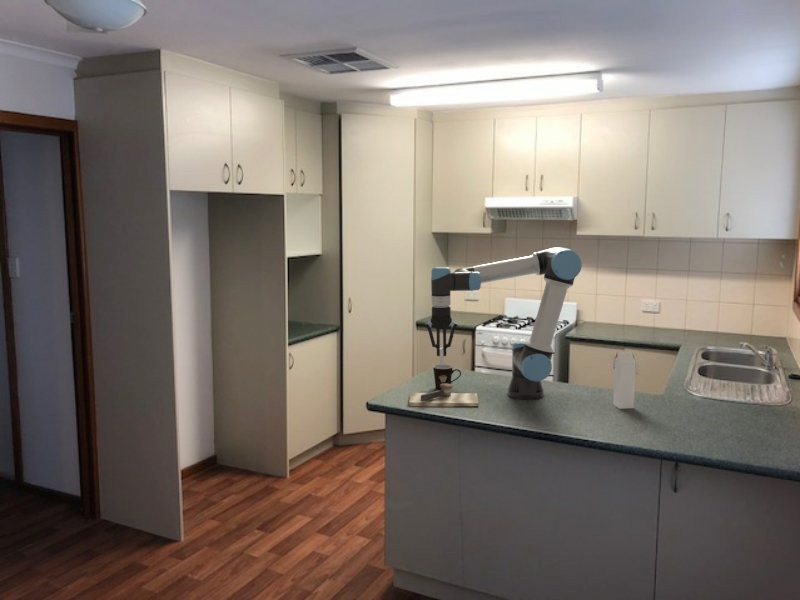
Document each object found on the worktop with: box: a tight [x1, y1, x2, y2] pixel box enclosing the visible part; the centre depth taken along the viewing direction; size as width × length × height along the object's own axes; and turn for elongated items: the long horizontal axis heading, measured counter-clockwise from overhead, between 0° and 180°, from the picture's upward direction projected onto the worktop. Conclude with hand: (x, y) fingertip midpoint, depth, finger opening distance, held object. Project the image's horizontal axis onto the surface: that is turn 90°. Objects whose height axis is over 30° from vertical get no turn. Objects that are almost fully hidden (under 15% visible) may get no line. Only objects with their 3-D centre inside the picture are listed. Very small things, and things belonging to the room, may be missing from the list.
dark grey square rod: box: [421, 383, 453, 402], centre depth 269 cm, size 5×17×4 cm, turn 131°
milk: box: [612, 352, 637, 410], centre depth 260 cm, size 6×6×22 cm
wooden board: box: [408, 392, 479, 407], centre depth 270 cm, size 28×14×2 cm, turn 86°
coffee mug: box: [432, 363, 462, 391], centre depth 288 cm, size 12×9×10 cm
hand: (441, 364), depth 262 cm, fingers closed
